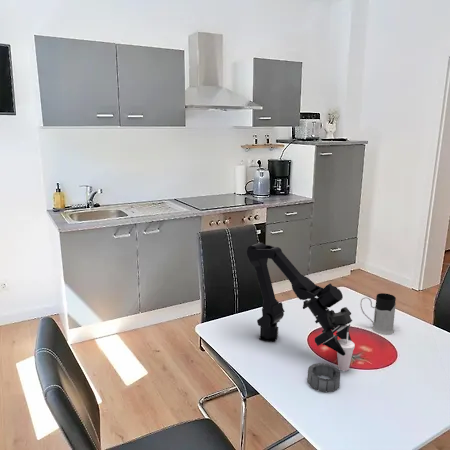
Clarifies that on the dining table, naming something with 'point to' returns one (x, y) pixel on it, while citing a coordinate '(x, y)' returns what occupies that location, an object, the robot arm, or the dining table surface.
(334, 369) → the stone ring
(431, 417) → the dining table surface
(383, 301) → the grey mug
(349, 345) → the smoothie
